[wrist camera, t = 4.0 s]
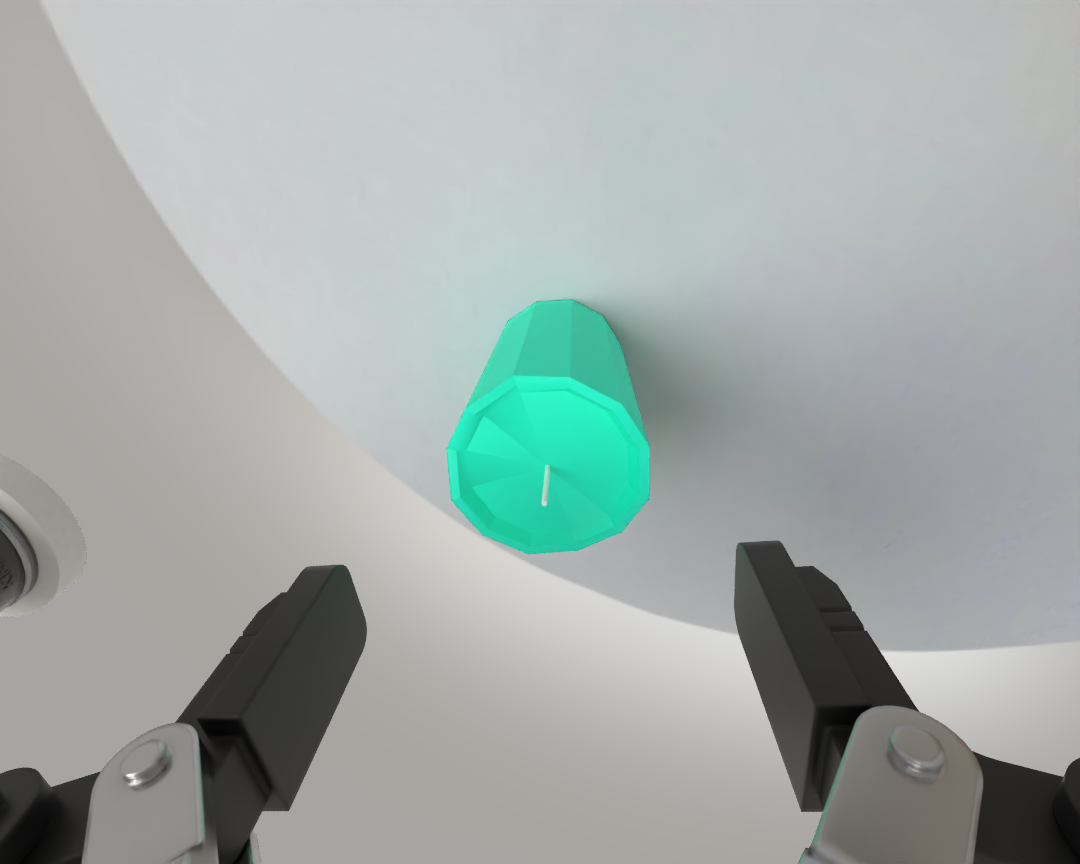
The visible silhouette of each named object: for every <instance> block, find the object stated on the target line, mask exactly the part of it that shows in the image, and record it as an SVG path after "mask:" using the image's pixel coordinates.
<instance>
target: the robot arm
mask: <svg viewBox="0 0 1080 864" xmlns="http://www.w3.org/2000/svg"><path fill="white" fill-rule="evenodd" d="M37 577H38V563H37V558H36V555H35V552H34V550H33V548H32V546H31V544H30V542H29V540H28V539H27V537H26V536H25V534H24V533H23V532H22V531H21V529H20V528H19V527H18V526H17V525H16V524H15V522H14V521H13V520H12V519H11V518H10V517H9V516H7V515H6V514H5V513H4V512H3V511H2V510H0V612H1V611H2V610H4V609H5V608H7V607H9V606H11V605H13V604H15V603H16V602H17V601H19V600H20V599H21V598H23V597H24V596H25V595H27V594H28V593H29V592H30V591H31V590H32V589H33V587H34V585H35V584H36V581H37ZM734 609H735V618H736V624H737V629H738V633H739V636H740V639H741V642H742V645H743V648H744V651H745V653H746V656H747V659H748V662H749V665H750V668H751V671H752V673H753V676H754V679H755V682H756V685H757V687H758V690H759V693H760V696H761V699H762V702H763V704H764V707H765V710H766V713H767V716H768V719H769V721H770V724H771V727H772V730H773V733H774V736H775V738H776V741H777V744H778V747H779V750H780V752H781V755H782V758H783V761H784V764H785V767H786V769H787V772H788V775H789V778H790V780H791V784H792V786H793V789H794V792H795V795H796V798H797V800H798V803H799V806H800V809H801V812H817V811H818V812H823V813H822V816H821V819H820V822H819V825H818V827H817V830H816V833H815V835H814V838H813V841H812V843H811V845H810V847H809V849H808V848H806V849H805V850H804V852H803V853H802V855H801V858H800V860H799V862H798V864H1080V758H1079V759H1077V760H1075V761H1073V762H1072V763H1071V764H1070V765H1069V766H1068V768H1067V770H1066V773H1065V775H1064V777H1061V776H1057V775H1053V774H1049V773H1046V772H1041V771H1038V770H1033V769H1030V768H1025V767H1022V766H1018V765H1014V764H1010V763H1006V762H1002V761H998V760H995V759H992V758H988V757H985V756H983V755H980V754H978V753H975V752H973V751H971V749H970V748H969V747H968V746H967V745H966V744H965V742H964V741H963V740H962V739H961V738H960V737H959V736H957V735H956V734H955V733H954V732H953V731H952V730H950V729H949V728H948V727H946V726H945V725H943V724H942V723H940V722H939V721H937V720H935V719H933V718H932V717H930V716H928V715H926V714H923V713H920V712H919V710H918V709H917V708H916V707H915V705H914V704H913V702H912V700H911V699H910V697H909V696H908V694H907V693H906V691H905V690H904V688H903V686H902V685H901V683H900V682H899V680H898V679H897V677H896V676H895V674H894V673H893V671H892V669H891V668H890V667H889V665H888V663H887V662H886V660H885V658H884V657H883V655H882V654H881V652H880V651H879V649H878V648H877V646H876V644H875V643H874V641H873V640H872V638H871V637H870V635H869V634H868V632H867V631H865V630H864V627H863V624H862V623H861V621H860V620H859V618H858V616H857V615H856V613H855V612H854V611H852V609H851V606H850V604H849V602H848V601H847V599H846V598H845V596H844V595H843V593H842V592H841V590H840V588H839V587H838V585H837V584H836V583H834V582H833V581H832V580H830V579H829V578H828V577H827V576H825V575H824V574H823V573H821V572H820V571H819V570H817V569H816V568H815V567H814V566H804V567H795V566H794V564H793V562H792V560H791V558H790V557H789V555H788V553H787V551H786V550H785V548H784V546H783V545H782V543H781V542H780V541H761V542H744V543H738V545H737V549H736V569H735V596H734ZM366 634H367V627H366V620H365V616H364V613H363V610H362V607H361V605H360V602H359V599H358V596H357V593H356V590H355V587H354V584H353V581H352V578H351V575H350V572H349V570H348V569H347V567H346V566H344V565H329V566H310V567H306V568H305V569H304V570H303V571H302V572H301V573H300V575H299V576H298V577H297V579H296V580H295V582H294V583H293V584H292V586H291V587H290V588H289V590H288V591H287V592H285V593H280V594H279V595H278V596H277V597H276V598H274V599H273V600H272V601H271V602H269V603H268V604H267V605H266V606H264V607H263V608H262V609H261V610H260V611H258V613H257V614H256V615H255V617H254V618H253V619H252V621H251V622H250V624H249V625H248V626H247V628H246V629H245V630H244V631H243V636H240V637H239V638H238V640H237V641H236V642H235V643H234V645H233V646H232V648H231V649H230V654H226V656H225V657H224V658H223V660H222V661H221V662H220V664H219V665H218V666H217V668H216V669H215V670H214V672H213V673H212V674H211V676H210V677H209V678H208V680H207V681H206V682H205V684H204V685H203V686H202V688H201V689H200V690H199V692H198V693H197V694H196V696H195V697H194V698H193V700H192V701H191V702H190V704H189V705H188V706H187V708H186V709H185V710H184V712H183V713H182V715H181V716H180V717H179V718H178V720H177V721H176V722H175V723H171V724H166V725H163V726H160V727H157V728H155V729H153V730H150V731H148V732H146V733H144V734H142V735H141V736H139V737H137V738H136V739H135V740H133V741H131V742H130V743H129V744H128V745H126V746H125V747H124V748H122V749H121V750H120V751H119V752H118V753H117V754H116V755H115V756H114V757H113V758H112V759H111V760H110V761H109V762H108V763H107V765H106V766H105V767H104V768H103V770H102V771H101V772H98V773H95V774H92V775H88V776H85V777H82V778H79V779H76V780H73V781H70V782H66V783H63V784H60V785H57V786H54V787H50V786H49V785H48V783H47V782H46V780H45V779H44V778H43V777H42V776H41V774H40V773H39V772H38V771H36V770H35V769H32V768H18V769H14V770H10V771H6V772H4V773H1V774H0V864H261V859H260V852H259V845H258V839H257V835H256V833H255V832H254V830H253V828H254V826H255V824H256V822H257V820H258V818H259V816H260V814H261V812H262V811H289V809H290V807H291V805H292V803H293V801H294V799H295V796H296V794H297V792H298V790H299V788H300V785H301V783H302V781H303V779H304V777H305V775H306V773H307V771H308V768H309V766H310V764H311V762H312V760H313V758H314V755H315V753H316V751H317V749H318V747H319V744H320V742H321V740H322V738H323V736H324V734H325V732H326V729H327V727H328V725H329V723H330V721H331V719H332V716H333V714H334V712H335V710H336V708H337V705H338V704H339V701H340V699H341V697H342V695H343V693H344V691H345V688H346V686H347V684H348V682H349V680H350V677H351V675H352V673H353V671H354V669H355V667H356V664H357V662H358V660H359V658H360V656H361V654H362V652H363V649H364V646H365V642H366Z"/></svg>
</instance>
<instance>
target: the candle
mask: <svg viewBox="0 0 1080 864" xmlns="http://www.w3.org/2000/svg"><path fill="white" fill-rule="evenodd" d="M447 460H448V470H449V481H450V492H451V501H452V502H453V503H454V504H455V505H456V506H457V507H458V508H459V509H460V511H461V512H462V513H463V514H464V515H465V516H466V517H467V518H468V519H469V521H470V522H471V523H472V524H473V525H474V526H475V527H476V528H477V529H478V531H479V532H480V533H481V534H482V535H484V536H486V537H488V538H491V539H493V540H496V541H498V542H500V543H503V544H505V545H507V546H510V547H512V548H515V549H517V550H519V551H522V552H524V553H527V554H536V553H550V552H565V551H578V550H580V549H583V548H585V547H587V546H590V545H592V544H595V543H597V542H599V541H602V540H604V539H606V538H609V537H611V536H614V535H616V534H618V533H621V532H622V531H623V530H624V528H625V527H626V526H627V525H628V524H629V522H630V521H631V520H632V519H633V517H634V516H635V515H636V514H637V513H638V511H639V510H640V509H641V508H642V507H643V505H644V504H645V503H646V502H647V501H648V499H649V481H650V446H649V443H648V439H647V436H646V432H645V429H644V425H643V422H642V418H641V415H640V411H639V408H638V404H637V401H636V397H635V394H634V390H633V387H632V383H631V380H630V376H629V373H628V369H627V366H626V362H625V359H624V355H623V352H622V348H621V345H620V343H619V341H618V340H617V338H616V336H615V335H614V333H613V332H612V330H611V328H610V327H609V325H608V323H607V322H606V320H605V319H604V317H603V316H602V315H600V314H599V313H597V312H595V311H593V310H591V309H589V308H587V307H585V306H583V305H581V304H579V303H577V302H575V301H573V300H557V301H538V302H535V303H534V304H532V305H531V306H529V307H528V308H526V309H525V310H523V311H522V312H520V313H519V314H517V315H516V316H514V317H513V318H511V319H510V320H508V322H507V324H506V326H505V328H504V330H503V332H502V334H501V336H500V339H499V341H498V343H497V345H496V347H495V349H494V351H493V353H492V355H491V357H490V359H489V361H488V363H487V365H486V367H485V369H484V371H483V373H482V375H481V378H480V380H479V382H478V384H477V386H476V388H475V390H474V392H473V394H472V396H471V398H470V400H469V402H468V404H467V406H466V408H465V410H464V413H463V415H462V417H461V419H460V421H459V423H458V425H457V428H456V430H455V432H454V434H453V436H452V438H451V440H450V442H449V445H448V447H447Z"/></svg>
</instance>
